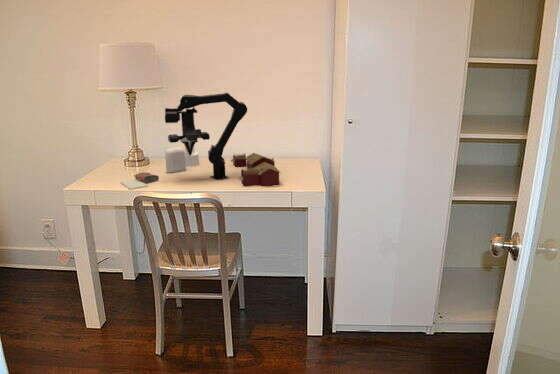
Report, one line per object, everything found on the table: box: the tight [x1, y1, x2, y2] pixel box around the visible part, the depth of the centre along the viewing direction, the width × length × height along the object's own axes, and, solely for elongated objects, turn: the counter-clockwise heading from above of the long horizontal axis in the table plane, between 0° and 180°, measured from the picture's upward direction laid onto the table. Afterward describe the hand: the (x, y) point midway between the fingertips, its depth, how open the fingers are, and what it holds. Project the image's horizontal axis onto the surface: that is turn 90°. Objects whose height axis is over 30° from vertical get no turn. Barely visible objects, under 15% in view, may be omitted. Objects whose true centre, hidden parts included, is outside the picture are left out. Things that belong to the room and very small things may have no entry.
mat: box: [119, 178, 149, 191], centre depth 221 cm, size 14×8×1 cm, turn 36°
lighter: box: [134, 172, 160, 183], centre depth 227 cm, size 8×3×10 cm
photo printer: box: [164, 146, 187, 174], centre depth 242 cm, size 10×4×12 cm, turn 123°
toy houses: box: [230, 152, 282, 187], centre depth 236 cm, size 45×20×10 cm, turn 14°
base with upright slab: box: [184, 146, 200, 168], centre depth 254 cm, size 9×9×12 cm
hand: (190, 154), depth 226 cm, fingers closed
